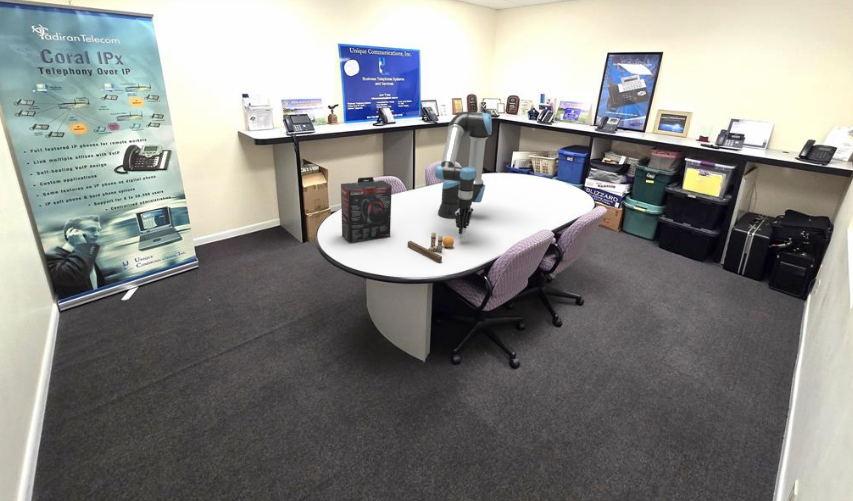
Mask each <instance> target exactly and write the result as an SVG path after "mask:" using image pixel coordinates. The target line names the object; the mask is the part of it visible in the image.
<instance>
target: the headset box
mask: <svg viewBox="0 0 853 501" xmlns="http://www.w3.org/2000/svg"><path fill="white" fill-rule="evenodd" d="M392 190H393V189H392V185H391V184H390V183H389V182H386V181H384V180H374V176H369V177H368V176H367V177H366V176H365V177H358V178H357V182H348V183H340V201H341V204H340V205H341V206H340V207H341V236H342V238H344V239H345V240H346V241H347V242H348V243H349V244H351V243H359V242H364V241H366V242H367V241H372V240H378V239H384V238H390V237H391V222H392V221H391V220H392V215H391V214H392V192H393V191H392Z"/></svg>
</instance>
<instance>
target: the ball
mask: <svg viewBox="0 0 853 501" xmlns="http://www.w3.org/2000/svg"><path fill="white" fill-rule="evenodd" d="M454 243H455V240H454V237H452V236H449V235H447V236H445V237H443V242H442V245H443V247H446V248H451V247H453V246H454Z"/></svg>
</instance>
